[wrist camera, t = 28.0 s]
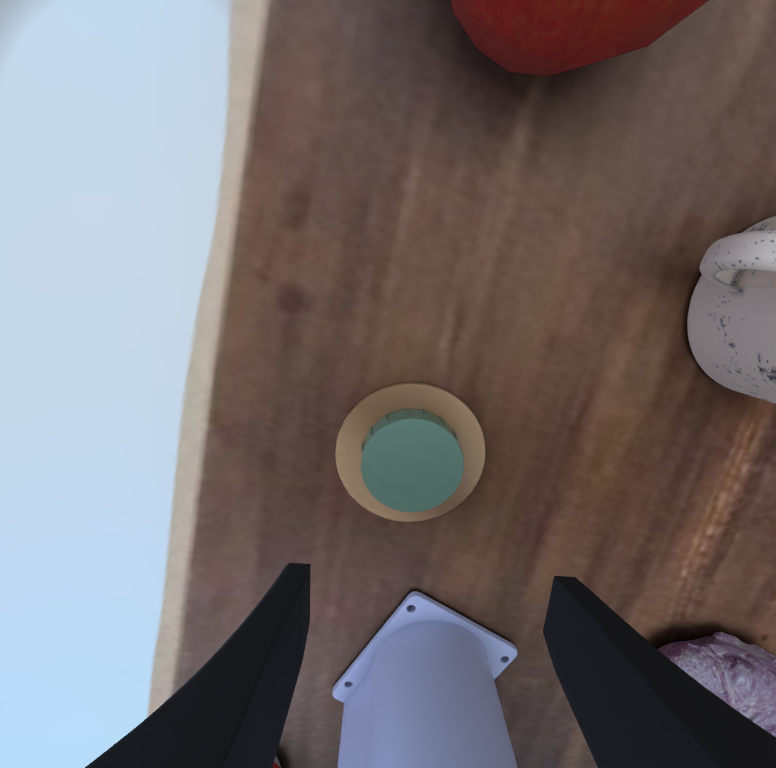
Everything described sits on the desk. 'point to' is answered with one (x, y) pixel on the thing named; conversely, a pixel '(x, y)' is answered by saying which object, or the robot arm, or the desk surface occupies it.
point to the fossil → (731, 673)
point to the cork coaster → (396, 400)
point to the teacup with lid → (738, 312)
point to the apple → (565, 29)
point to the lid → (411, 460)
